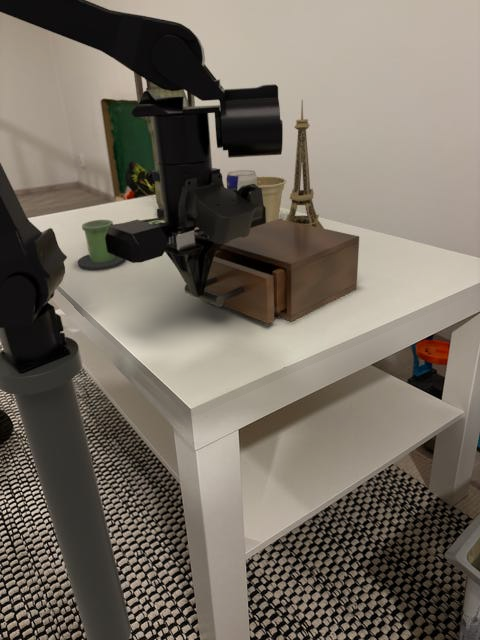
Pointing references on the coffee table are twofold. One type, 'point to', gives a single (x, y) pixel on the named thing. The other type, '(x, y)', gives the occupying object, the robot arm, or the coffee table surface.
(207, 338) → the coffee table surface
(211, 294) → the drawer
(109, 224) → the green pot
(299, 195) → the eiffel tower
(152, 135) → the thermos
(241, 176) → the energy drink
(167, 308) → the coffee table surface
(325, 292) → the cabinet
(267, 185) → the flower pot
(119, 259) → the coaster
